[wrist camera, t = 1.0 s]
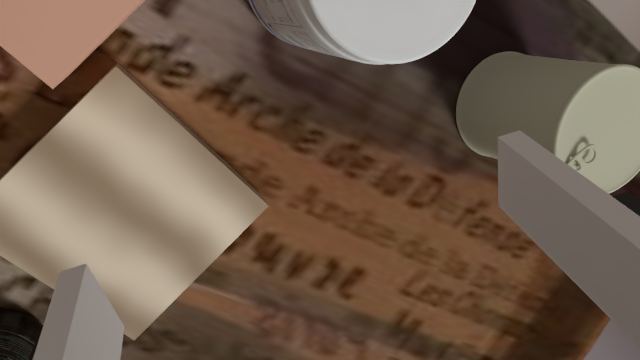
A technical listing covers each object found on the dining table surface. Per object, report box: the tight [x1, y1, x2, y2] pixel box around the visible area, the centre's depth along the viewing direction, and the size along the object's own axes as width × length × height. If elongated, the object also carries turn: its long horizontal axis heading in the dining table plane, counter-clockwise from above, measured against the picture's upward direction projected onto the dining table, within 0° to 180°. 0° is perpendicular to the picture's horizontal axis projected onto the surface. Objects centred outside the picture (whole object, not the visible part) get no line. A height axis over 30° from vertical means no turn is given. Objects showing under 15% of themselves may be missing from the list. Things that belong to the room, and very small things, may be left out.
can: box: [456, 51, 640, 194], centre depth 39 cm, size 9×9×12 cm
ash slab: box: [0, 63, 269, 340], centre depth 36 cm, size 14×14×3 cm
